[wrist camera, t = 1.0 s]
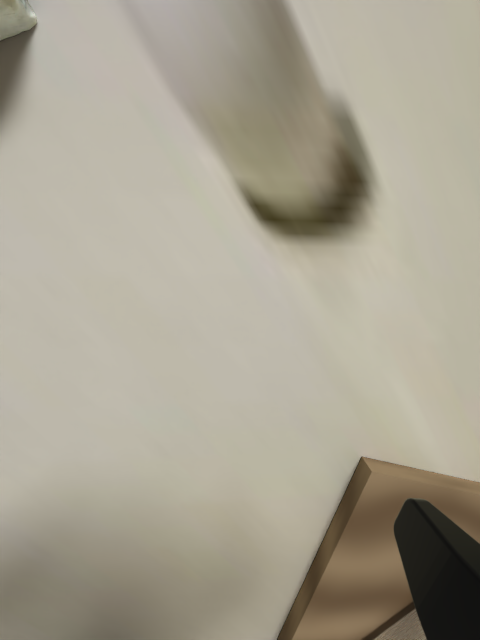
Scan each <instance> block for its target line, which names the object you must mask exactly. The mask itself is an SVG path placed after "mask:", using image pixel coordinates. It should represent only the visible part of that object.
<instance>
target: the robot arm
mask: <svg viewBox="0 0 480 640" xmlns="http://www.w3.org/2000/svg"><path fill="white" fill-rule="evenodd" d="M394 536H395V539H396V543H397V546H398V550H399V554H400V557H401V561H402V564H403V568H404V571H405V575H406V578H407V582H408V585H409V589H410V592H411V596H412V599H413V602H414V606H415V609H416V612H417V615H418V618H419V620H420V623H421V626H422V629H423V631H424V634H425V637H426V639H427V640H480V543H478V542H477V541H476V540H475V539H474V538H472V537H471V536H470V535H469V534H467V533H466V532H465V531H464V530H463V529H461V528H460V527H459V526H458V525H457V524H455V523H454V522H453V521H452V520H451V519H449V518H448V517H447V516H446V515H445V514H443V513H442V512H441V511H440V510H439V509H437V508H436V507H435V506H434V505H433V504H431V503H430V502H429V501H427V500H425V499H419V498H408V499H406V500H405V502H404V503H403V506H402V508H401V510H400V512H399V514H398V516H397V518H396V520H395V522H394Z"/></svg>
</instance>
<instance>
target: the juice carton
mask: <svg viewBox="0 0 480 640" xmlns="http://www.w3.org/2000/svg"><path fill="white" fill-rule="evenodd" d="M36 23H37V18H36V15H35V14H34V12H33V10H32V8H31V6H30V4H29V3H28V1H27V0H0V41H1V40H3V39H5V38H8V37H12V36H14V35H17V34H19V33H21V32H22V31H26V30H30V29H31V28H32V27H33V26H34V25H36Z"/></svg>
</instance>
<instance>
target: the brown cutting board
mask: <svg viewBox="0 0 480 640" xmlns="http://www.w3.org/2000/svg"><path fill="white" fill-rule="evenodd" d="M408 498H419V499H425V500H427V501H429V502H430V503H431V504H433V505H434V506H435V507H436V508H437V509H439V510H440V511H441V512H442V513H443V514H445V515H446V516H447V517H448V518H449V519H451V520H452V521H453V522H454V523H455V524H457V525H458V526H459V527H460V528H461V529H463V530H464V531H465V532H466V533H467V534H469V535H470V536H471V537H472V538H474V539H475V540H476V541H477V542H478V543H480V483H479V482H474V481H470V480H465V479H461V478H456V477H452V476H447V475H443V474H438V473H434V472H429V471H424V470H420V469H415V468H411V467H406V466H402V465H397V464H393V463H388V462H383V461H379V460H374V459H370V458H365V457H362V458H361V460H360V462H359V464H358V466H357V468H356V471H355V473H354V475H353V477H352V479H351V481H350V483H349V486H348V488H347V490H346V492H345V494H344V496H343V499H342V501H341V503H340V505H339V507H338V509H337V512H336V514H335V516H334V518H333V520H332V522H331V525H330V527H329V529H328V531H327V533H326V535H325V537H324V540H323V542H322V544H321V546H320V548H319V550H318V553H317V555H316V557H315V559H314V561H313V563H312V566H311V568H310V570H309V572H308V574H307V576H306V579H305V581H304V583H303V585H302V587H301V589H300V591H299V594H298V596H297V598H296V600H295V602H294V604H293V607H292V609H291V611H290V613H289V615H288V617H287V620H286V622H285V624H284V626H283V628H282V630H281V633H280V635H279V637H278V639H277V640H373V639H375V638H376V637H377V636H379V635H380V634H381V633H383V632H384V631H385V630H387V629H388V628H390V627H391V626H392V625H394V624H395V623H396V622H398V621H399V620H400V619H402V618H403V617H404V616H406V615H407V614H409V613H410V612H411V611H413V610H414V609H415V606H414V602H413V599H412V596H411V592H410V589H409V585H408V582H407V578H406V575H405V571H404V568H403V564H402V561H401V557H400V554H399V550H398V546H397V543H396V539H395V536H394V522H395V520H396V518H397V516H398V514H399V512H400V510H401V508H402V506H403V503H404V502H405V500H406V499H408Z"/></svg>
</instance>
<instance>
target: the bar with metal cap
mask: <svg viewBox="0 0 480 640" xmlns="http://www.w3.org/2000/svg"><path fill="white" fill-rule="evenodd" d="M373 640H427V639H426V637H425V634H424V631H423V629H422V626H421V623H420V620H419V618H418V615H417V612H416V609H414V610H413V611H411V612H410V613H409V614H407V615H406V616H404V617H403V618H402V619H400V620H399V621H398V622H396V623H395V624H394V625H392V626H391V627H390V628H388V629H387V630H385V631H384V632H383V633H381V634H380V635H379V636H377V637H376V638H375V639H373Z"/></svg>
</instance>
